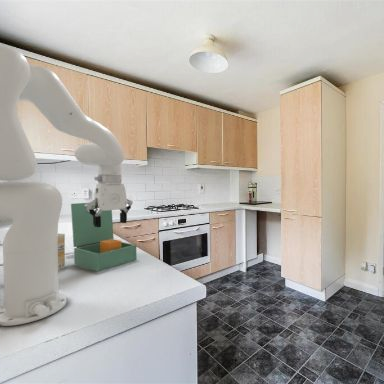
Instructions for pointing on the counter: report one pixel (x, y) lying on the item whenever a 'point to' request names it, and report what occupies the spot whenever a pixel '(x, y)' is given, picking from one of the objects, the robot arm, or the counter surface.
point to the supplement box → (61, 251)
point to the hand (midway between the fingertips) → (111, 224)
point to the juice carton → (109, 245)
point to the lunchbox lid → (90, 226)
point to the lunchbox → (103, 256)
